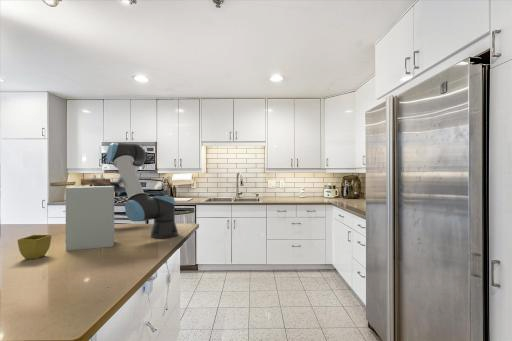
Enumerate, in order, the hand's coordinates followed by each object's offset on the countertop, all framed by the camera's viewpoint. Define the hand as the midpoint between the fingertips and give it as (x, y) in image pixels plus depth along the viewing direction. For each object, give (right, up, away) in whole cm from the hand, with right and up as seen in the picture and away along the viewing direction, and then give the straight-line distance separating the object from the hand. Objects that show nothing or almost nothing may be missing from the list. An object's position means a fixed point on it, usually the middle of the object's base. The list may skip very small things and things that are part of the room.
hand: (97, 176), depth 165 cm
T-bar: (0, -4, +1) cm, 4 cm away
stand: (+9, -35, -22) cm, 42 cm away
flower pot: (-5, -35, -40) cm, 54 cm away
